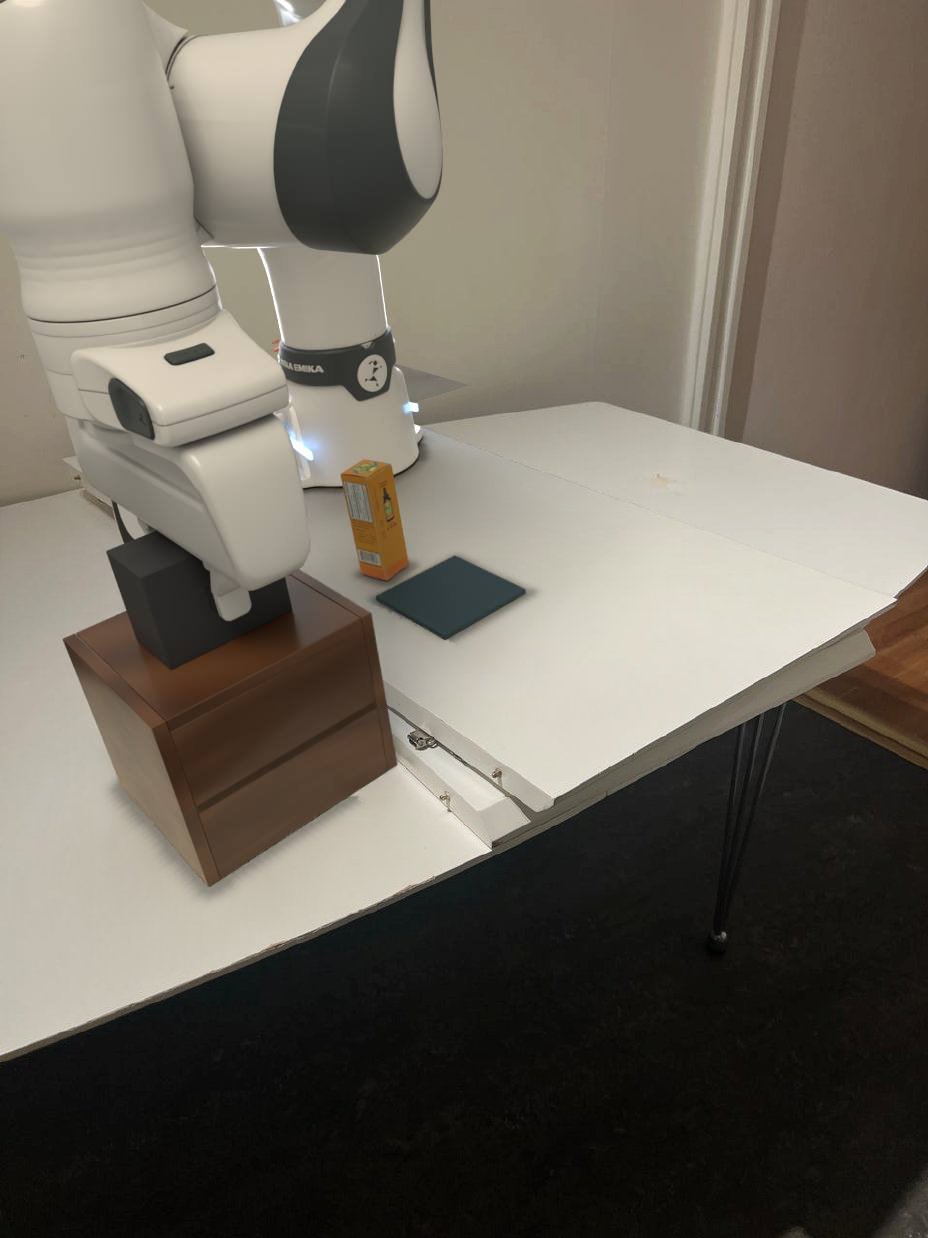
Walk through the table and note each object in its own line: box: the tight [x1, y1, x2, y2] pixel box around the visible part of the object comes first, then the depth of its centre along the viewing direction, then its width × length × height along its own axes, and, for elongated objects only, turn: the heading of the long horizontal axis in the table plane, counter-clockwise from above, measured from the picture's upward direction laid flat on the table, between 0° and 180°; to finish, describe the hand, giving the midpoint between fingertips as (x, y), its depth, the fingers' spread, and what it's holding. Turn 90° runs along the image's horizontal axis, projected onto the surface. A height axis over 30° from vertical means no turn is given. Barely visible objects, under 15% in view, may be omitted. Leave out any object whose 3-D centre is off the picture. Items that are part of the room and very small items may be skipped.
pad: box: [375, 555, 527, 640], centre depth 76 cm, size 9×9×1 cm
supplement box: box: [340, 459, 409, 581], centre depth 78 cm, size 3×3×10 cm
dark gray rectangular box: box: [105, 531, 292, 670], centre depth 52 cm, size 4×8×6 cm, turn 132°
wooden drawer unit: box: [62, 569, 398, 887], centre depth 57 cm, size 12×14×12 cm
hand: (208, 594), depth 52 cm, fingers closed on dark gray rectangular box, 4 cm apart
